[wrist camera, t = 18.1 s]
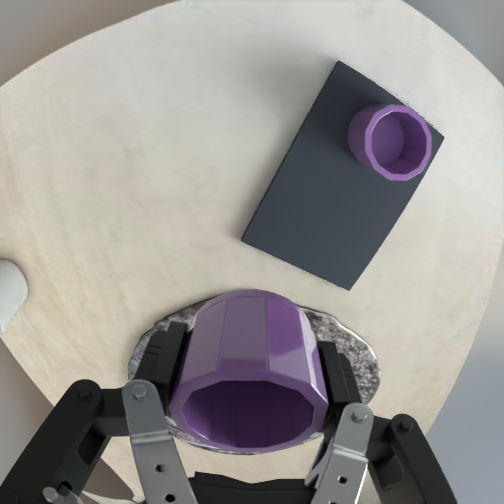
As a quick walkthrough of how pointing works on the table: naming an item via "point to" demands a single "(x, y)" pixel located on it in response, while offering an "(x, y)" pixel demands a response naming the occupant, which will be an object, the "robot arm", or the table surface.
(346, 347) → the ancient coin
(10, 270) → the cup
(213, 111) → the table surface
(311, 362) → the purple faceted cup
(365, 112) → the purple hollow cylinder
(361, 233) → the mat
